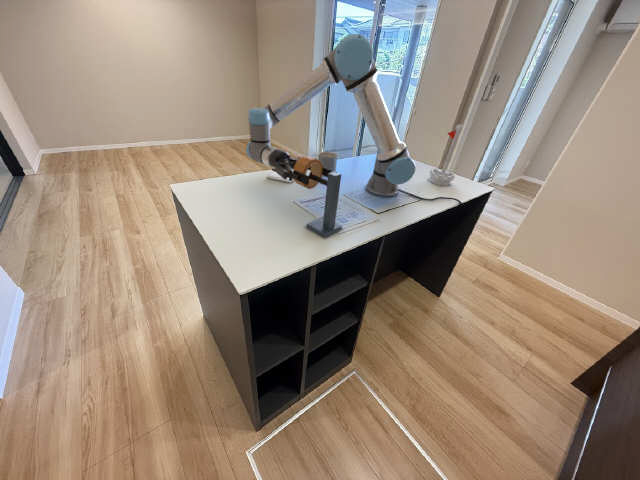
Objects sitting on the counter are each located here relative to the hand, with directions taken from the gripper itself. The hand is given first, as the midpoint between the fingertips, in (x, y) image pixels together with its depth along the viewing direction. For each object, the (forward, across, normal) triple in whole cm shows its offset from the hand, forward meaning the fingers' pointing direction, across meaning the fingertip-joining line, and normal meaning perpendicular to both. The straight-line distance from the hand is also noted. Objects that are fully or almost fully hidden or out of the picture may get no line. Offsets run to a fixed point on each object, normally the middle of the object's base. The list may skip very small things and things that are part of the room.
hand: (319, 177), depth 83 cm
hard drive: (-42, -19, -18) cm, 49 cm away
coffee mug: (-34, -46, -18) cm, 60 cm away
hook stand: (+2, 0, -18) cm, 18 cm away
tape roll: (-5, 0, 0) cm, 5 cm away
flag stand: (+14, -88, -18) cm, 91 cm away
